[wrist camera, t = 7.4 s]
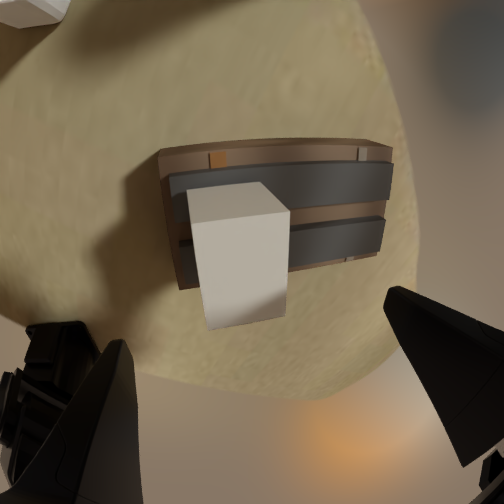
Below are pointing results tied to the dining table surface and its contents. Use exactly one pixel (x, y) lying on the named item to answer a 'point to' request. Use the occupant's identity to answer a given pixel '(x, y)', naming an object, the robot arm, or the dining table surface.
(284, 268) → the block
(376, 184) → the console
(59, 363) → the robot arm
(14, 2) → the pepper shaker
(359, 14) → the dining table surface
